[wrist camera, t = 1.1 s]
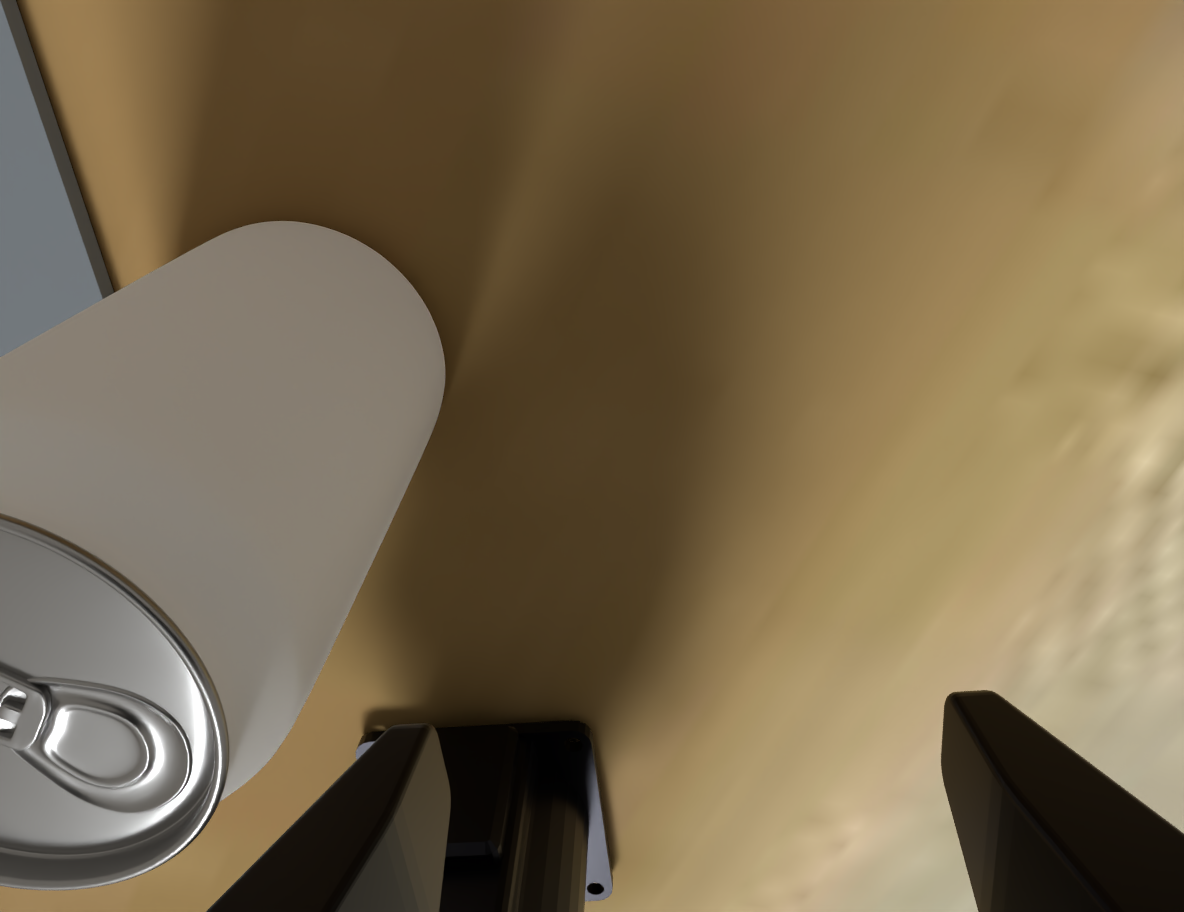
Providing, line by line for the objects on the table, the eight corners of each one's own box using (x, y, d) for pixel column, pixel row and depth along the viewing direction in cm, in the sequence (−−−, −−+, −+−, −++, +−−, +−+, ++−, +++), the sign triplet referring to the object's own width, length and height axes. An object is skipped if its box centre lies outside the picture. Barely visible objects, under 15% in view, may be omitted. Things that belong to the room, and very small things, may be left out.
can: (381, 527, 23) (162, 980, 13) (130, 404, 22) (-346, 787, 11) (499, 309, 21) (351, 643, 10) (223, 156, 20) (-280, 350, 9)
